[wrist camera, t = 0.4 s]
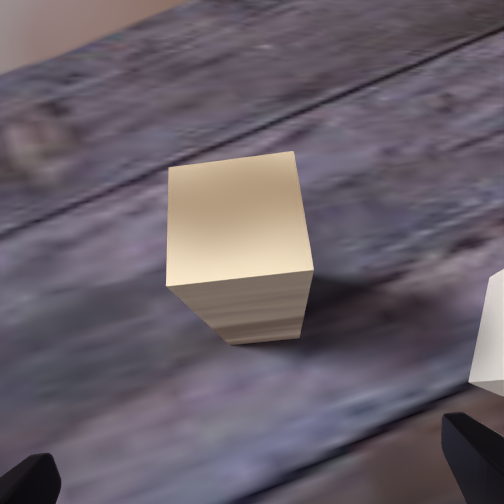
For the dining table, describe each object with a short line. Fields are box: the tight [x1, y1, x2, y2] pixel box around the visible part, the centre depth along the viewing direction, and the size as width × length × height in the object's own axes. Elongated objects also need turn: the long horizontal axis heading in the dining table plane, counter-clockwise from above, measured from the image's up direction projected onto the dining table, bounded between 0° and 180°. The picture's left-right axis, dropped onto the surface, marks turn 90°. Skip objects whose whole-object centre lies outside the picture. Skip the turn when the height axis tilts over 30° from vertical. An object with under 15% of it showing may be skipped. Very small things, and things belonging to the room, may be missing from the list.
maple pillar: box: [166, 151, 314, 345], centre depth 17 cm, size 4×4×12 cm
